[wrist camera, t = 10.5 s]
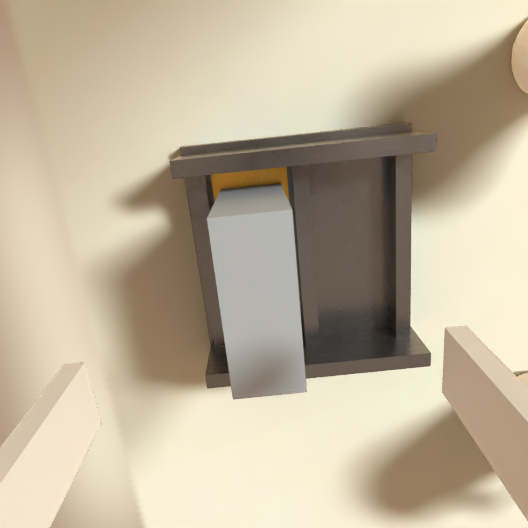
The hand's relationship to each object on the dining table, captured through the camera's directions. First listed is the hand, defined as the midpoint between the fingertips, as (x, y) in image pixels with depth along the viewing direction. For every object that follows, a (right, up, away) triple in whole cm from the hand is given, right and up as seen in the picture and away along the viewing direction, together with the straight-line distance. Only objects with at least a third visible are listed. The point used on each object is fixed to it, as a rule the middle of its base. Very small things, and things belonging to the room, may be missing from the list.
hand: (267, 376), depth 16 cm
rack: (+3, +5, +15) cm, 16 cm away
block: (-1, +5, +14) cm, 15 cm away
